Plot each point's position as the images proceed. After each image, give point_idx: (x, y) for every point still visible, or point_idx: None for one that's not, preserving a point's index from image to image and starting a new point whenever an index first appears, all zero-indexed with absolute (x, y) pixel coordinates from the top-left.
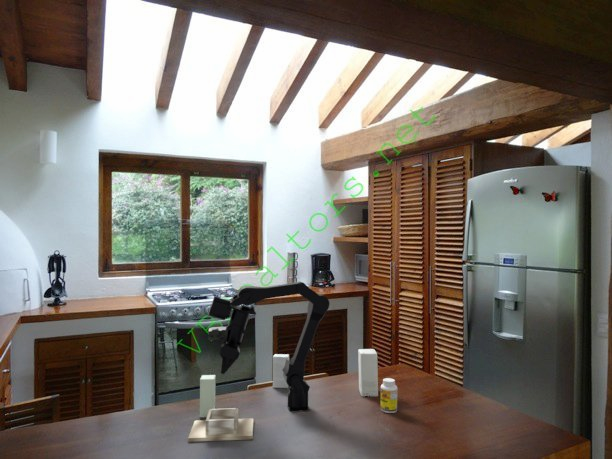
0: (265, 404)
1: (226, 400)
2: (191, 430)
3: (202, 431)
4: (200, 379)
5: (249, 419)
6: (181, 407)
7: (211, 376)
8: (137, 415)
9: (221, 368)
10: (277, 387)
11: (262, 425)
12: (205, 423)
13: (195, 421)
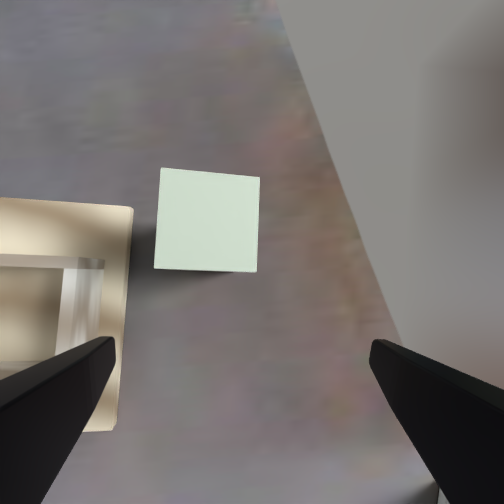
0: (278, 458)
1: (330, 305)
2: (37, 201)
3: (17, 241)
4: (162, 170)
5: (102, 414)
6: (283, 156)
7: (222, 245)
8: (233, 28)
9: (45, 361)
10: (438, 499)
11: (74, 461)
12: (93, 246)
13: (119, 209)
